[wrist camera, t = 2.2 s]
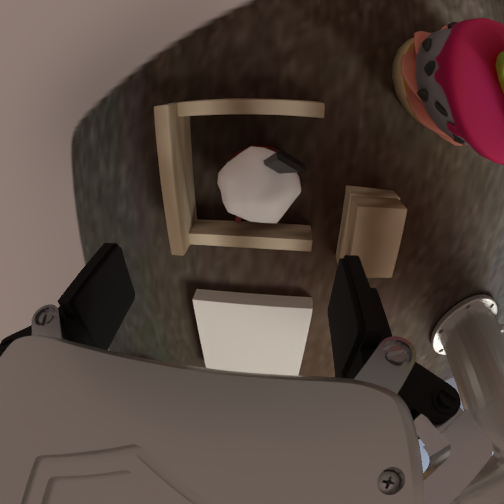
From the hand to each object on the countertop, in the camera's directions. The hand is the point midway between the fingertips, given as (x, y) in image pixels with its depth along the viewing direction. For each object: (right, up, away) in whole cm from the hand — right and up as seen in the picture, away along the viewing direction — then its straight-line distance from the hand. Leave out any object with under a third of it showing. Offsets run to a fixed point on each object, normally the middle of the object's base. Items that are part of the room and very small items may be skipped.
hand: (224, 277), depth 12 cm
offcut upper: (+12, +3, +14) cm, 19 cm away
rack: (+1, +9, +14) cm, 16 cm away
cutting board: (+1, -11, +26) cm, 29 cm away
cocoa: (+2, +9, +14) cm, 17 cm away
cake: (+18, +17, +7) cm, 26 cm away
